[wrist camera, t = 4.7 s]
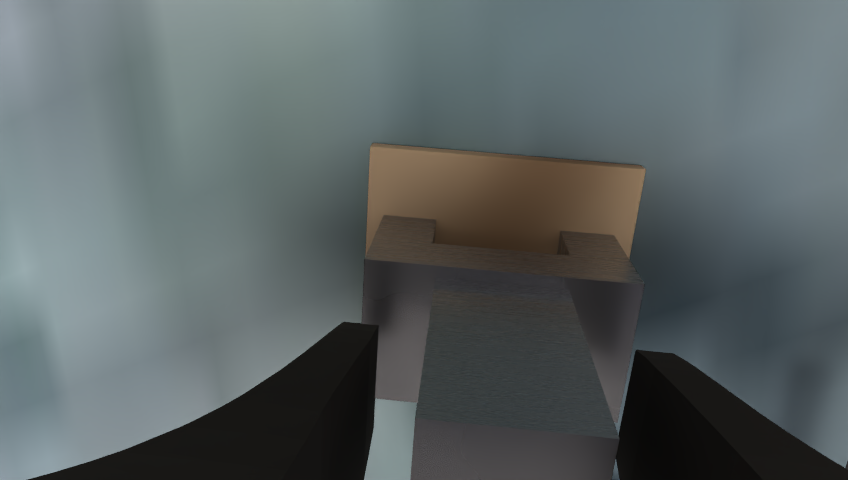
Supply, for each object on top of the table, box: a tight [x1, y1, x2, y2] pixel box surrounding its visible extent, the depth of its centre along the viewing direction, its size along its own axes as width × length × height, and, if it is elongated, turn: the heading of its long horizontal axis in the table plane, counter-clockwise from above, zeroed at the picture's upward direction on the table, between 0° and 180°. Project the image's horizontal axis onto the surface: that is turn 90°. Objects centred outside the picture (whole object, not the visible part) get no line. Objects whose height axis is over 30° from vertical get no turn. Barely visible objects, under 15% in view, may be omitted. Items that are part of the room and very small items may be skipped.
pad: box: [366, 143, 646, 258], centre depth 16 cm, size 6×6×1 cm
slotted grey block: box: [362, 215, 645, 480], centre depth 12 cm, size 3×5×7 cm, turn 86°
